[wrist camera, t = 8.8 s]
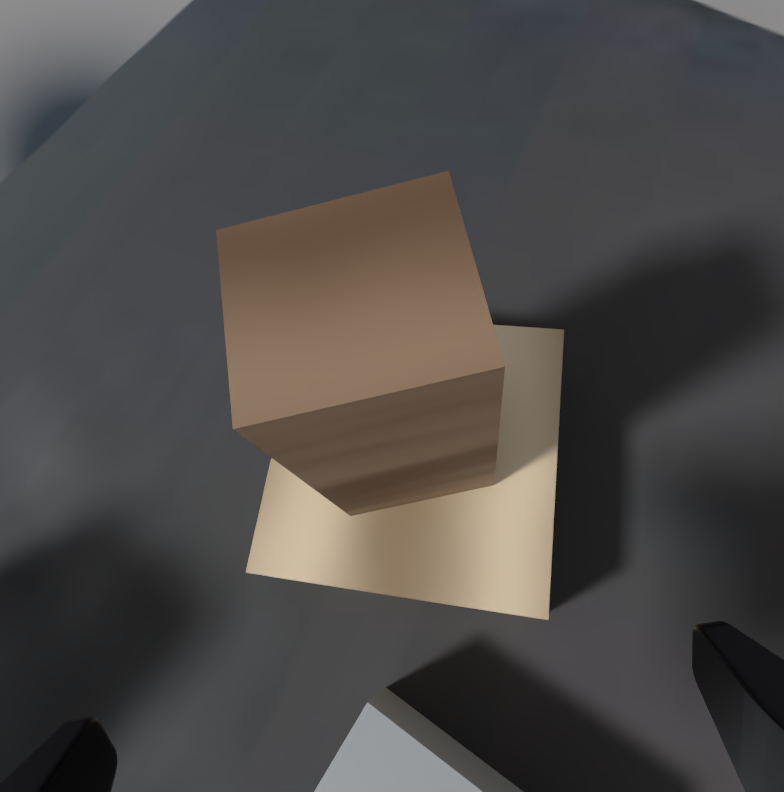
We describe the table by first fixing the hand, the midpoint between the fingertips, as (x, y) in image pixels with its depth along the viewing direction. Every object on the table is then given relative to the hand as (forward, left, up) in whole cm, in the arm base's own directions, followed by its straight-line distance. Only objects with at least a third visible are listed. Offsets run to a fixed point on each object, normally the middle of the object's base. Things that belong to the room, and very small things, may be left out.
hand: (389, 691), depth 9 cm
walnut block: (+3, -6, -10) cm, 12 cm away
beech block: (+3, -6, -14) cm, 15 cm away
